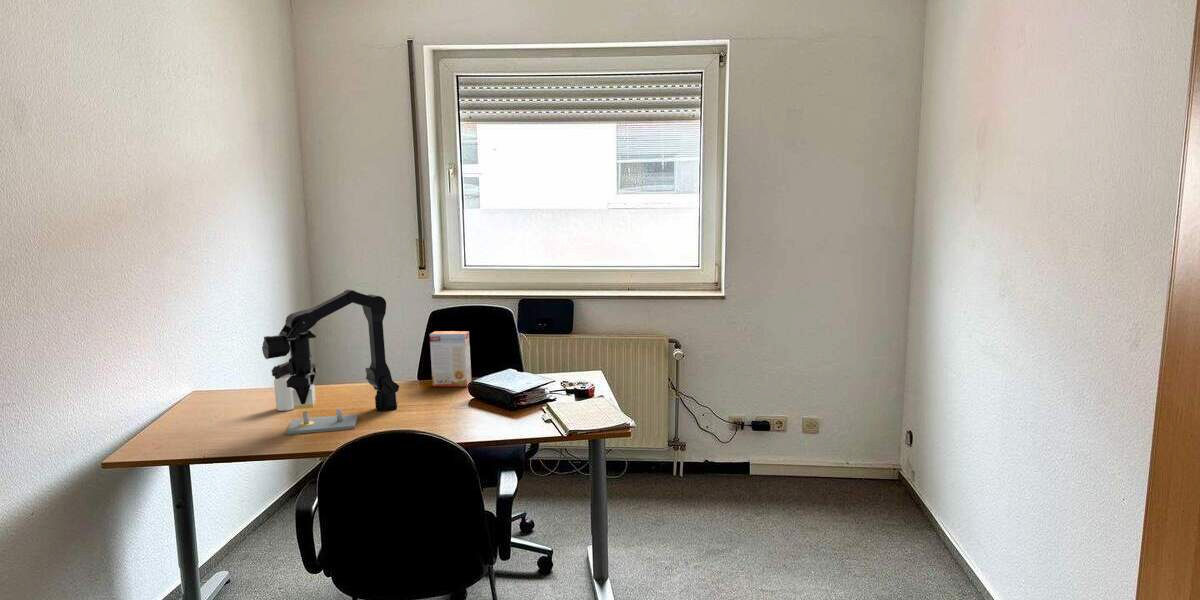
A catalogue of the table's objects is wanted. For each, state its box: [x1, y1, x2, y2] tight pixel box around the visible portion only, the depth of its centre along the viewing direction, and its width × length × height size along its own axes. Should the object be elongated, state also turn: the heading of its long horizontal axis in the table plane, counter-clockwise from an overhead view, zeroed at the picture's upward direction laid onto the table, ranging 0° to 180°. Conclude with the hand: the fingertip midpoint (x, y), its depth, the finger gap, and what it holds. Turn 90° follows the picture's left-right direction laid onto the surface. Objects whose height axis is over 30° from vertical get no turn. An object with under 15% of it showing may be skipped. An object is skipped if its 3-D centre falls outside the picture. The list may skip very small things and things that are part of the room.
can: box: [273, 373, 295, 412], centre depth 232 cm, size 6×6×12 cm
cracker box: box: [429, 330, 472, 388], centre depth 258 cm, size 14×6×21 cm, turn 83°
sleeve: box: [292, 384, 317, 410], centre depth 212 cm, size 6×6×6 cm
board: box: [285, 407, 359, 436], centre depth 215 cm, size 20×12×5 cm, turn 105°
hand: (304, 401), depth 212 cm, fingers closed on sleeve, 6 cm apart
